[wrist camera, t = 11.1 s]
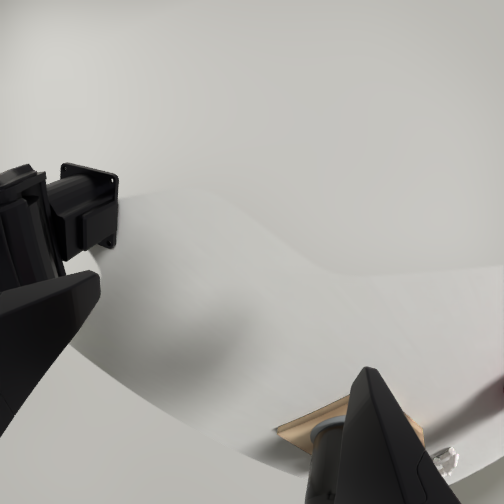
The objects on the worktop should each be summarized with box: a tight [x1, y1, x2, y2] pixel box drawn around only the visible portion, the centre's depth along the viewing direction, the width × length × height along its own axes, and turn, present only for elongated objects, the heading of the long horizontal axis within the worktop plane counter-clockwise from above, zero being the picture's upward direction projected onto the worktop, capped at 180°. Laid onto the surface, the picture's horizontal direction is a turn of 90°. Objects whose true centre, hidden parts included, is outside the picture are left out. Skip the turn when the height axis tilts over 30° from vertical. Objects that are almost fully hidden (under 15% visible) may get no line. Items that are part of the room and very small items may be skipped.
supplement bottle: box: [305, 422, 344, 504], centre depth 22 cm, size 7×7×12 cm
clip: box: [434, 447, 459, 477], centre depth 26 cm, size 5×2×4 cm, turn 157°
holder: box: [277, 395, 425, 455], centre depth 26 cm, size 11×12×7 cm
